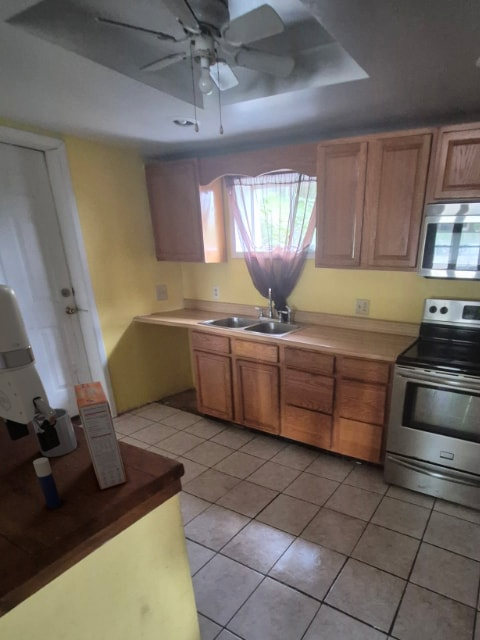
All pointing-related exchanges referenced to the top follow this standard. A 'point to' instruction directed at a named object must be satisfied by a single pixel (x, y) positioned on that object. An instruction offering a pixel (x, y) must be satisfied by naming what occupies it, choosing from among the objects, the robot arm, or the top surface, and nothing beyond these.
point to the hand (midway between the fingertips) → (35, 442)
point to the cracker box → (100, 434)
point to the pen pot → (61, 434)
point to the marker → (47, 482)
